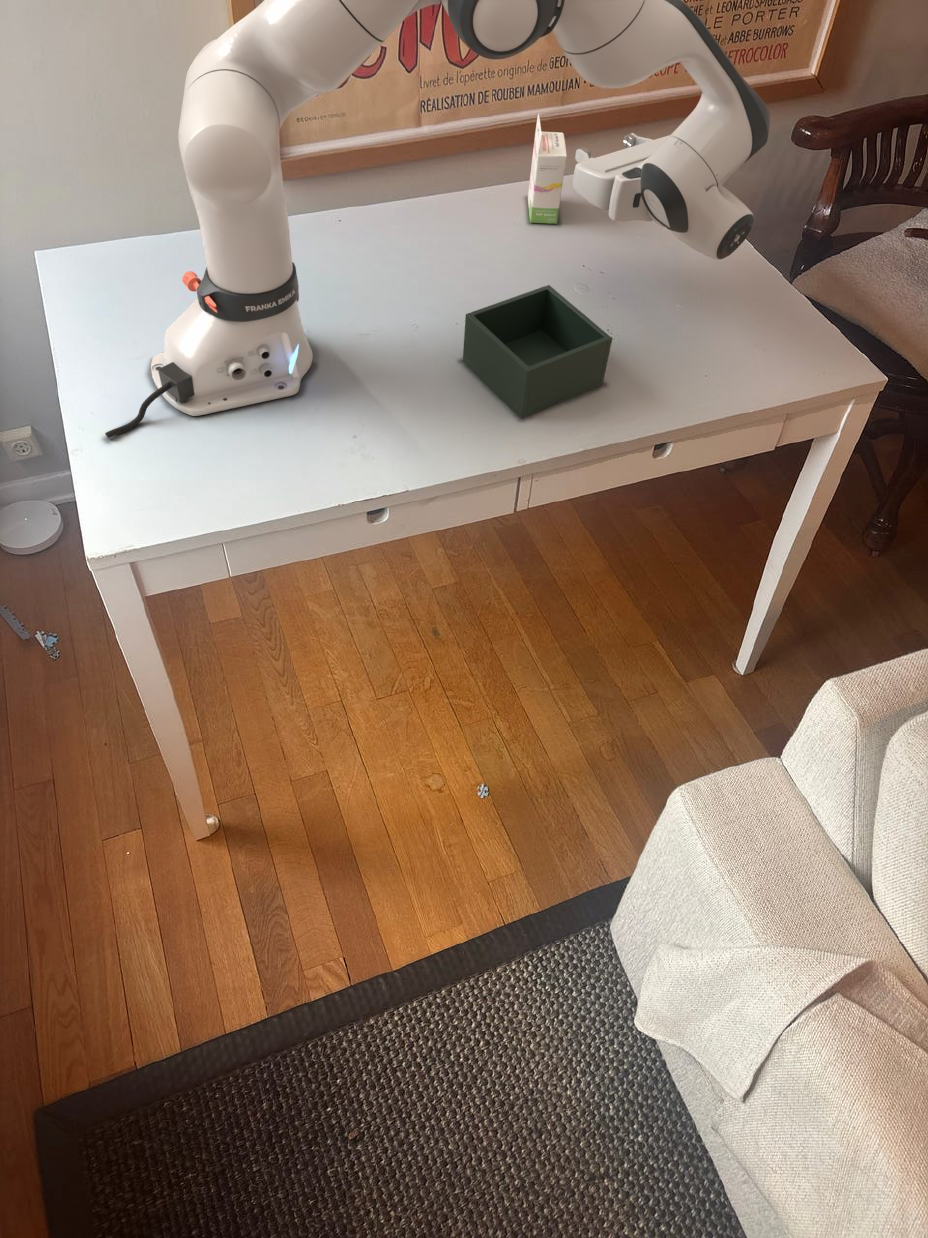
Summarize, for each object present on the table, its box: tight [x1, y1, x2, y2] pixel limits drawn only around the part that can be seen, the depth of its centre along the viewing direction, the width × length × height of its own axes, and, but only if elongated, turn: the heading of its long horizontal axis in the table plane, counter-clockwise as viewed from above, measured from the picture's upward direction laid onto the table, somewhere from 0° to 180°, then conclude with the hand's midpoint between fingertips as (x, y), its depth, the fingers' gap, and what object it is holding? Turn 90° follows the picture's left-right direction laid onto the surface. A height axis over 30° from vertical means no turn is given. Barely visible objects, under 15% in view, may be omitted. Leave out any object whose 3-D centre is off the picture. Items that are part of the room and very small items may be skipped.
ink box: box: [527, 113, 568, 225], centre depth 161 cm, size 9×5×15 cm, turn 0°
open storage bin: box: [462, 284, 613, 419], centre depth 136 cm, size 15×15×8 cm
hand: (603, 145), depth 148 cm, fingers open, 8 cm apart
